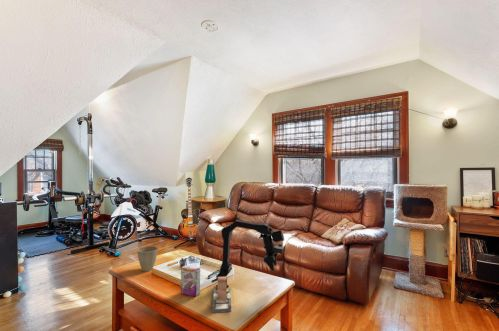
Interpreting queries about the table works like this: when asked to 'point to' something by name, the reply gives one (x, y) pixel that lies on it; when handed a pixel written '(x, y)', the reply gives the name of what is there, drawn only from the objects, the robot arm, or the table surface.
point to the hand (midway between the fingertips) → (274, 268)
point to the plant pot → (147, 257)
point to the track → (222, 306)
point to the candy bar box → (190, 280)
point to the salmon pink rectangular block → (222, 290)
